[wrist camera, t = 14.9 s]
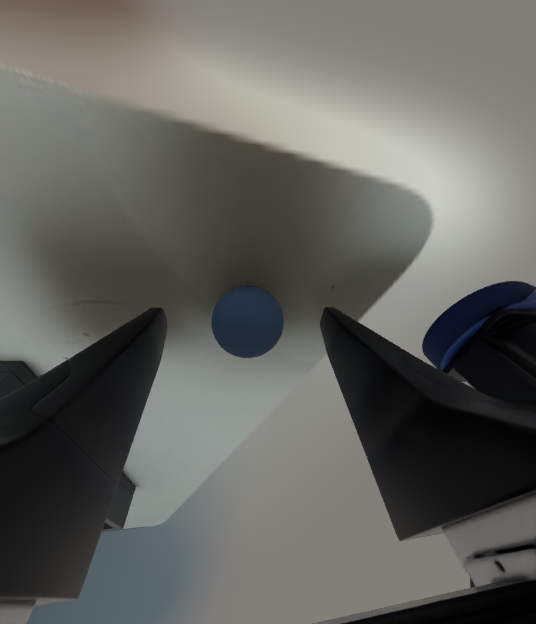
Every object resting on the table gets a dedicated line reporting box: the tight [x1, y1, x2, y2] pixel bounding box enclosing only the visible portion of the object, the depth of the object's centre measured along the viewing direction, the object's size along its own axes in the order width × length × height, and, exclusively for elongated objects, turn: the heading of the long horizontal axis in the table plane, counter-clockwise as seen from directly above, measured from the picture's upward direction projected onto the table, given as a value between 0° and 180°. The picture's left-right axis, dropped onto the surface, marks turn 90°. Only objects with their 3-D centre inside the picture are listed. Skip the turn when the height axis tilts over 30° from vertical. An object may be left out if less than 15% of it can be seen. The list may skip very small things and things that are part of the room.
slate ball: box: [212, 286, 283, 358], centre depth 9 cm, size 3×3×3 cm
